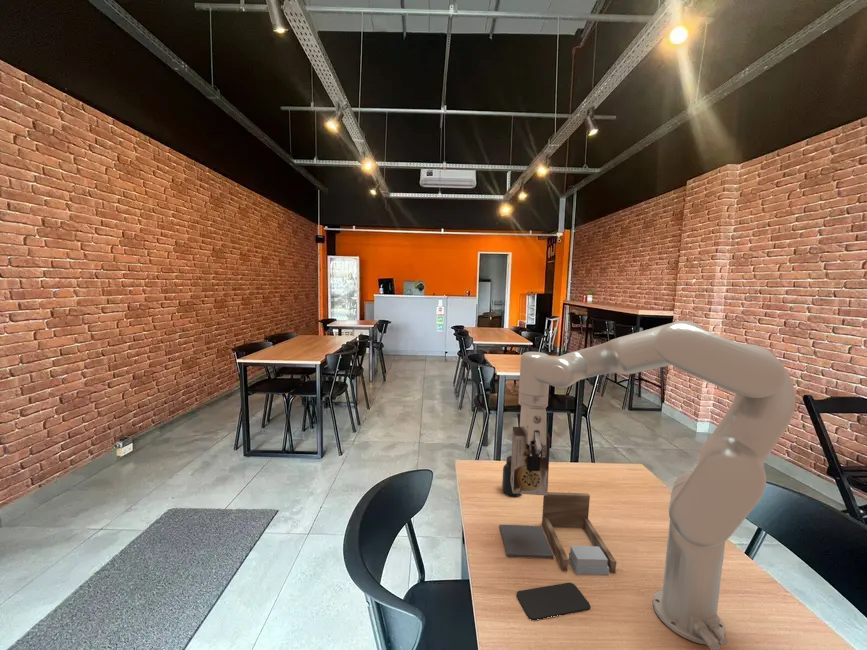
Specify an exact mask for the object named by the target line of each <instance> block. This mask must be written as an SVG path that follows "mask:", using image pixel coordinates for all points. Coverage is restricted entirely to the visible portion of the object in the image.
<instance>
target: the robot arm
mask: <svg viewBox="0 0 867 650" xmlns="http://www.w3.org/2000/svg"><path fill="white" fill-rule="evenodd" d="M669 366H672V367H674V368H675V369H678V370H680V371H682V372H684V373H687V374H689V375H692V376H693V377H696V378H699V380H700V379H701V380H702V381H705V382H707V383H710V384H712V385H715V386H717V387H718V388H721V389H723V390H726V391H728V392H731V393H733V394H735V395H734V398H733V401H732V402H731V405H730V406H729V408H728V410H727V411H726V413H725V414H724V416H723V417H722V419H721V420H720V422H719V423H718V425H717V426H716V428H715V429H714V431H712V433H711V434H710V435H709V437H708V438H707V439H706V440H705V442H704V443H703V444H702V446H701V448H700V450H699V457H698V462H697V465H696V467H695V468H693V469H694V470H692V471H686V472H684V473H682V474H680V475H679V476H678V477H677V478H676V479H675V481H674V482H673V485H672V488H671V492H670V493H671V494H670V500H669V505H668V516H669V524H668V532H667V533H668V535H667V540H666V541H667V542H666V551H665V552H666V553H665V562H664V563H665V564H664V573H663V582H662V583H663V585H662V589H660V590H658V591H656V592H655V593H654V595H653V599H652V607H653V610H654V612H655V613H656V615H657V617H659V619H660V620H661V622H663V624H665V626H667V627H668V628H669V629H670V630H671V631H673V632H674V633H676V634H677V635H679V636H681V637H682V638H684V639H687V640H689V641H691V642H693V643H697V644H700V645H706V646H707V647H708V648H709V649H710V650H720V649H721V645H726V644H727V643H728V640H727V638H726V637H725V635H726V627H725V624H724V622H723V620H722V619H721V617H720V616H719V615H718V609H719V599H720V598H719V597H720V590H721V581H722V572H723V564H724V557H725V549H726V541H727V540H728V539H730V537H732V535H733V534H734V533H735V532H736V531H737V529H738V528H739V527H740V525H741V524H742V523H743V522H744V520H745V519H746V518H747V516H749V514H750V513H751V512H752V510H753V509H754V508H755V506H756V505H757V504H758V503H759V501H760V500H761V498H762V497H763V494H764V492H765V489H766V486H767V474H766V470H765V461H766V460H767V458H768V457H769V455H770V454H771V452H772V450H774V448H775V447H776V445H777V443H778V442H779V441H780V439H781V437H782V436H783V435H784V433H785V432H786V430H787V429H788V427H789V425H790V423H791V421H792V418H793V417H794V414H795V409H796V408H795V407H796V393H795V387H794V384H793V381H792V378H791V375H790V373H789V372H788V370H787V368H786V367H785V366H784V365H783V363H782V362H781V361H780V359H778V358H777V356H776V355H775V354H774V353H773V352H771V351H770V350H769V349H767V348H765V347H763V346H760V345H757V344H751V343H749V344H748V343H747V344H743V343H740V342H737V341H734V340H731V339H728V338H726V337H723V336H720V335H718V334H715V333H713V332H711V331H708V330H705V329H704V328H703V327H702V326H701V325H699V324H698V323H696V322H694V321H691V320H678V321H674V322H671V323H670V322H669V323H667V324H662V325H659V326H656V327H652V328H649V329H645V330H642V331H637V332H634V333H629V334H627V335H623V336H619V337H616V338H613V339H610V340H609V341H606V342H604V343H600V344H597V345H593V346H590V347H585V348H582V349H578V350H575V351H571V352H568V353H565V354H562V355H559V356H555V357H550V355H549V354H547V353H546V352H541V351H526V352H523V353H522V354H521V357H520V367H519V382H518V383H519V385H518V387H519V388H518V401H517V402H518V404H519V405H520V416H519V427H521V429H522V431H523V433H524V434H525V436H526V443H527V444H528V446H529V447H528V448H529V455H527V470H528V471H539V470H540V457H541V450H542V447H541V444H542V445H543V446H545V445H546V430H547V411H546V410H547V407H548V406H549V389H550V386H552V387H555V388H559V389H565V388H569V387H570V386H572V385H575V383H577V382H580V380H585V379H588V378H593V377H597V376H601V375H607V374H621V375H633V374H637V373H642V372H646V371H651V370H654V369H659V368H664V367H669ZM531 441H534V442H535V444H531ZM532 446H535V449H533V450H532ZM720 644H721V645H720Z"/></svg>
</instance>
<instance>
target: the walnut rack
mask: <svg viewBox="0 0 867 650" xmlns="http://www.w3.org/2000/svg"><path fill="white" fill-rule="evenodd" d="M590 497H591V496H590V494H589V493H583V492H578V493H577V492H556V491H555V492H554V491H553V492H552V491H548V493H547V496H545V495H543V502H542V503H543V504H542V519H541V525H542V527H543V528H542V529H544V530H543V531H544V532H545V534H546V536H547V537H546V538H548V541H549V543H550V545H551V547H552V550H553V552H554V554H555V555H554V556H556V559H557V561H558V564H559V566H560V568H561V570H562V572H563V571H565V572H567V571H568V570H569V557H568V555H567V554H566V552H565V550H564V548H563V545H562V544H561V542H560V539H559V538H558V535H557V533H556V531H555V530H554V528H575V529H576V528H577V529H583V530H584V531H585V534H587V536H588V538H589V540H590V541H591V543H592V544H593V546H599V547H600V549H601V550H602V552H603V553H604V555H605V556H606V558H607V559H608V563H607V565H608V567H609V574H610V573H611V574H612V573H613V574H615V573H616V569H617V560H616V559H615V557H614V555H613V554H612V553H611V551H610V550H609V548H608V546H607V545H606V544H605V542H604V540H603V539H602V538H601V536H600V534H599V533H598V532H597V530H596V528H595V527H594V525H593V524H592V522H591V521H590V519H589V513H590V501H591V500H590V499H591V498H590Z"/></svg>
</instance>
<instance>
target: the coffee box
mask: <svg viewBox="0 0 867 650" xmlns="http://www.w3.org/2000/svg"><path fill="white" fill-rule="evenodd" d="M511 437H512V441H511V456H512V459H511V481H510V482H511V487H512V492H513V493H515V494H521V495H530V496H531V495H532V496H544V495H545V496H547V493H548V492H549V491H548V489H549V488H548V487H549V469H550V468H549V466H550V448H551V447H550V445H551V436H550V434H549V432H548V431H547V429H546V445H545V446H543V445H542V444H541V447H542V450H541V457H540V470H539V471H528V470H527V455H529V448H528V447H529V446H528V444H527V443H526V436H525V434H524V433H523V431H522V429H521V427H520V426H512V436H511ZM531 444H535V442H534V441H531ZM533 449H535V446H532V450H533Z"/></svg>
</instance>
